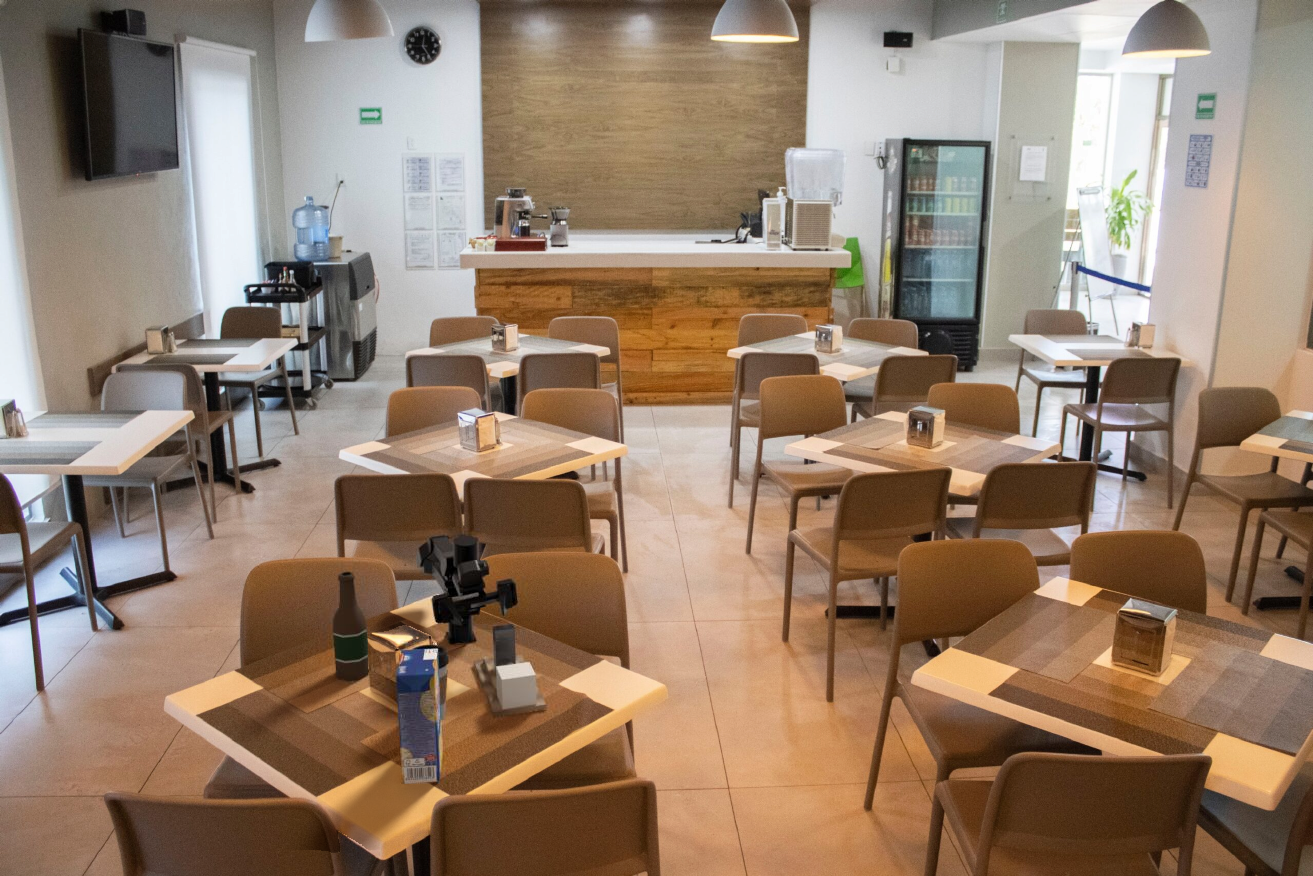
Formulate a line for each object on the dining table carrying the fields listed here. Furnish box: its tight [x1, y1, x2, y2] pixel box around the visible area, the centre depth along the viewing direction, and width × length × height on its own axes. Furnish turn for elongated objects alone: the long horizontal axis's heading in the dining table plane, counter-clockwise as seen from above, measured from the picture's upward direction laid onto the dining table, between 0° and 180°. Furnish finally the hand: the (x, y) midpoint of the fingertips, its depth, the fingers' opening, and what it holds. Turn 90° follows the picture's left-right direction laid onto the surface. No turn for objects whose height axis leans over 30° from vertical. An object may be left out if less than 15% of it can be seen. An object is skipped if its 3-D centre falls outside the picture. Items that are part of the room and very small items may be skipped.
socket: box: [496, 661, 537, 709], centre depth 235 cm, size 6×7×7 cm
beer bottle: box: [332, 571, 370, 682], centre depth 246 cm, size 8×8×24 cm
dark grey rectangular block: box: [492, 623, 517, 675], centre depth 242 cm, size 10×4×11 cm, turn 19°
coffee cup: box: [411, 644, 450, 721], centre depth 229 cm, size 8×8×15 cm
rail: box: [473, 654, 547, 718], centre depth 243 cm, size 25×11×3 cm, turn 19°
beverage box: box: [395, 648, 444, 785], centre depth 209 cm, size 7×11×22 cm, turn 7°
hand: (482, 618), depth 241 cm, fingers open, 9 cm apart
